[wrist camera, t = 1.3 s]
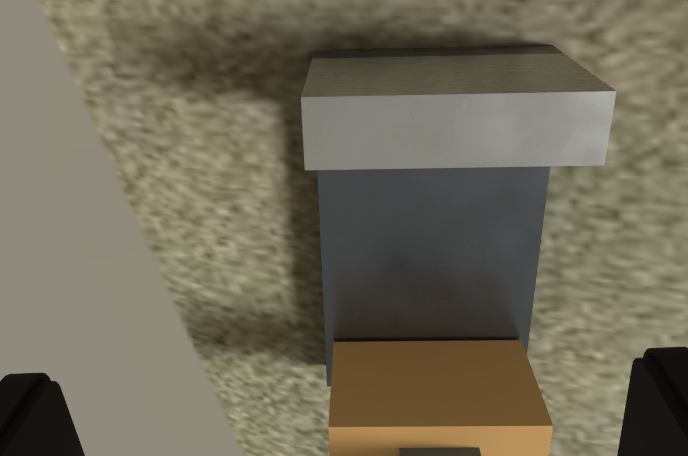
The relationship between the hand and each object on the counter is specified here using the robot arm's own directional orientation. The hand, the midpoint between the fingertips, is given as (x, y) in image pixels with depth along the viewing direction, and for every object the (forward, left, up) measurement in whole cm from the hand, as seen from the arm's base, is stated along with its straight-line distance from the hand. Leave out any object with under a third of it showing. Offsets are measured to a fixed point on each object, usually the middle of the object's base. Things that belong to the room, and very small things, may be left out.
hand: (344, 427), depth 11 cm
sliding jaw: (+17, +4, -23) cm, 29 cm away
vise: (+9, +4, -26) cm, 27 cm away
